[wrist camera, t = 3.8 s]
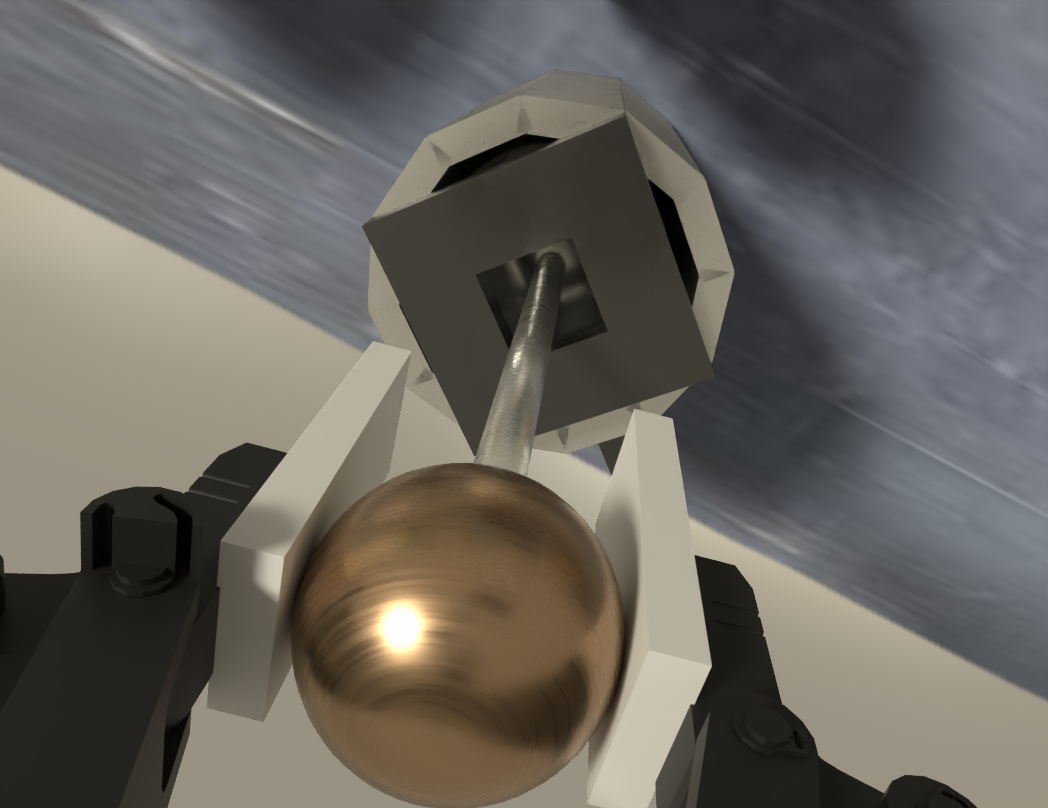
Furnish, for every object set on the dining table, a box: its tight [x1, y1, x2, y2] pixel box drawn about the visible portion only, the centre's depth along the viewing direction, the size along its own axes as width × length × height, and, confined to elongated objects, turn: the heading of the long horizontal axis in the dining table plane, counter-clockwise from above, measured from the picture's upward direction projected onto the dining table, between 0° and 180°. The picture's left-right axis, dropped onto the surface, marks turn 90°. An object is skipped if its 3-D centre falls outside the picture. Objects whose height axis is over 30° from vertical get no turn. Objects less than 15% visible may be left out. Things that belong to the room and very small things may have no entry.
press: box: [362, 69, 735, 475], centre depth 32 cm, size 11×14×17 cm
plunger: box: [291, 141, 669, 808], centre depth 18 cm, size 8×8×21 cm
